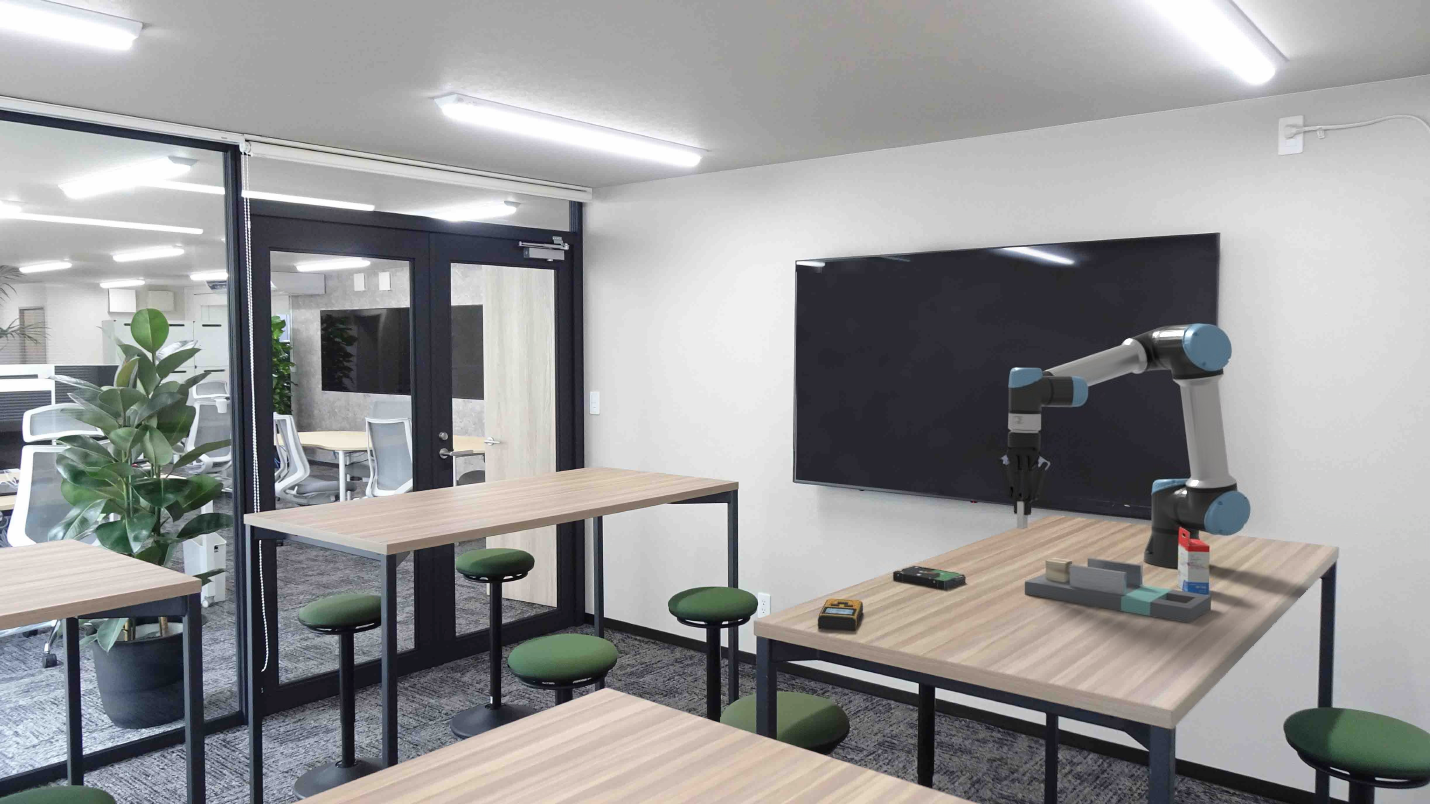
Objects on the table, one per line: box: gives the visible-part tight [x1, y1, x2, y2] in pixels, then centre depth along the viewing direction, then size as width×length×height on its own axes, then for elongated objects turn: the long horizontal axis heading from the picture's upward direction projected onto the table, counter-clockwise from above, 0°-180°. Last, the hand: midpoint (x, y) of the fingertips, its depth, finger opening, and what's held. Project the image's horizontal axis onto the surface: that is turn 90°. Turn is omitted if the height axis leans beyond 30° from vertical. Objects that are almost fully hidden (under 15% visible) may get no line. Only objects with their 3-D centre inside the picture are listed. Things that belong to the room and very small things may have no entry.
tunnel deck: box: [1024, 557, 1212, 624], centre depth 211 cm, size 15×36×8 cm, turn 47°
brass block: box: [1045, 557, 1073, 582], centre depth 220 cm, size 4×4×4 cm
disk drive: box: [892, 565, 966, 590], centre depth 231 cm, size 10×3×15 cm
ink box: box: [1177, 527, 1211, 595], centre depth 221 cm, size 8×5×15 cm, turn 168°
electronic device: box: [817, 598, 864, 632], centre depth 196 cm, size 8×16×3 cm, turn 166°
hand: (1022, 527), depth 226 cm, fingers closed
